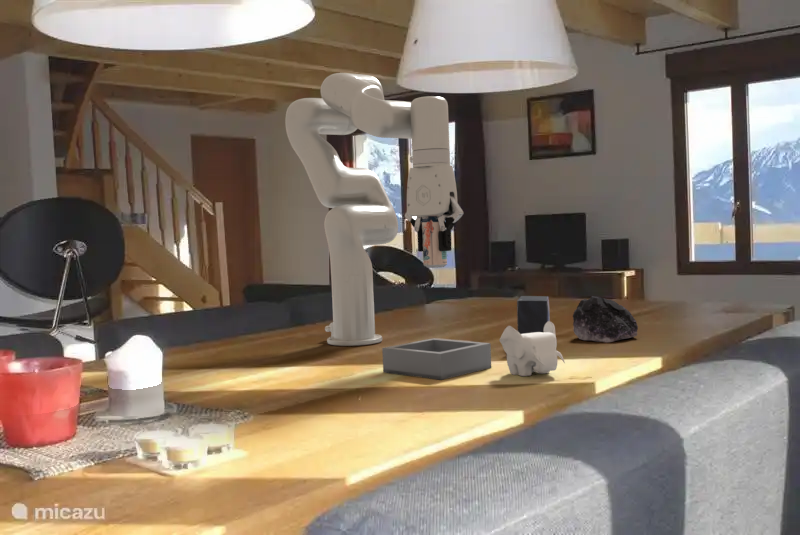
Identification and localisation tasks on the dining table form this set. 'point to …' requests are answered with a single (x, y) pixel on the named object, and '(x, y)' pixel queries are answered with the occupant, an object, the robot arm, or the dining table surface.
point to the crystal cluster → (603, 321)
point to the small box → (532, 313)
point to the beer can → (432, 243)
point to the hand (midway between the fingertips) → (434, 250)
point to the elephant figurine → (531, 350)
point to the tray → (436, 358)
